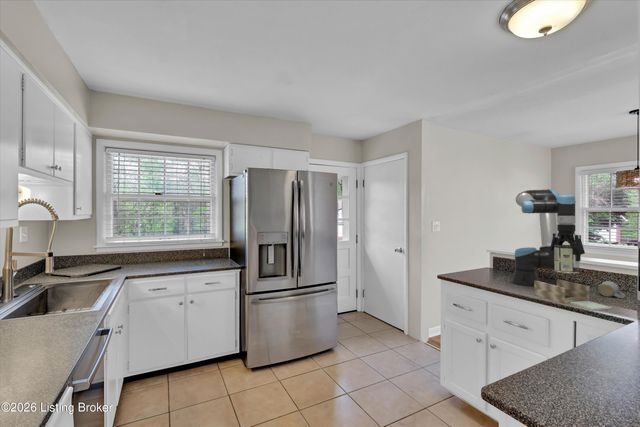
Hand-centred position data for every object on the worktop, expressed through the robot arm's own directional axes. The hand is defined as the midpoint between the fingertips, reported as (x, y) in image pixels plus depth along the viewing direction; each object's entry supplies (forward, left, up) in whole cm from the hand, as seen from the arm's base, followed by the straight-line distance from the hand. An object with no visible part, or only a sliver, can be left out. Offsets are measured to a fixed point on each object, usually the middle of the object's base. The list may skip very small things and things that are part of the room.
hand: (566, 265), depth 160 cm
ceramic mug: (-1, +31, -19) cm, 36 cm away
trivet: (+11, +1, -18) cm, 21 cm away
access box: (-4, 0, -18) cm, 19 cm away
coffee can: (0, 0, -4) cm, 4 cm away
